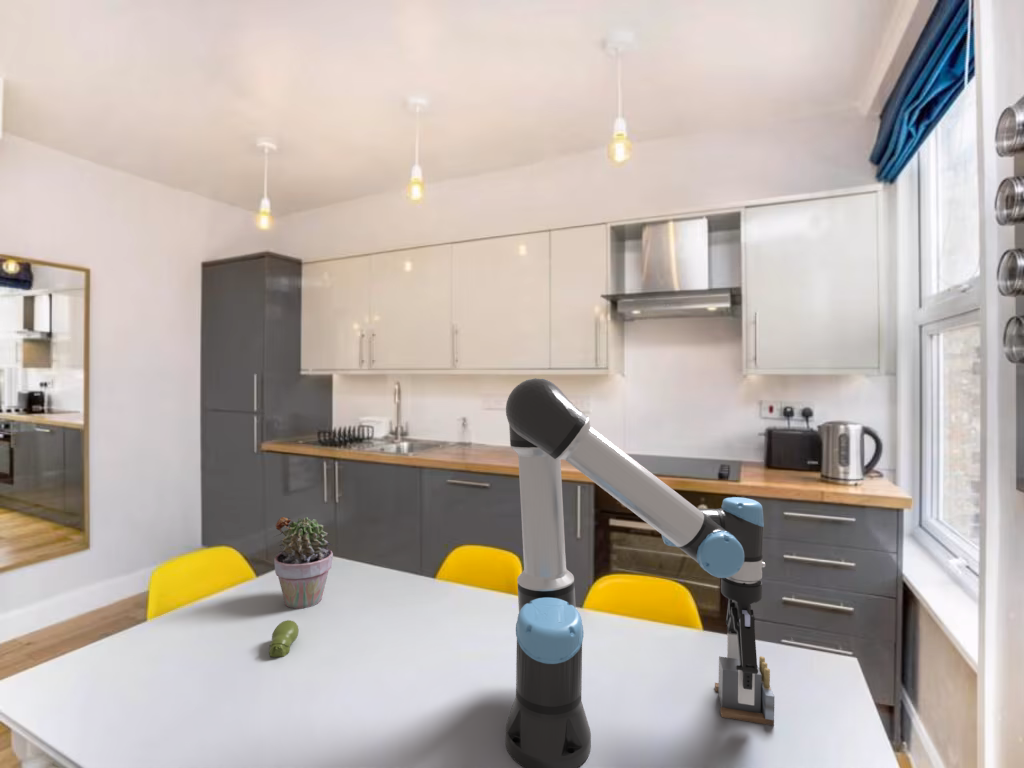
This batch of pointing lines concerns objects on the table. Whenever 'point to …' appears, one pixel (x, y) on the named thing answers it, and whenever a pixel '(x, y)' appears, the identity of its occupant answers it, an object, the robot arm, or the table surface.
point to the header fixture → (766, 701)
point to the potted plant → (303, 562)
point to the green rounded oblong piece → (283, 638)
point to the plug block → (735, 686)
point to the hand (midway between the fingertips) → (739, 682)
